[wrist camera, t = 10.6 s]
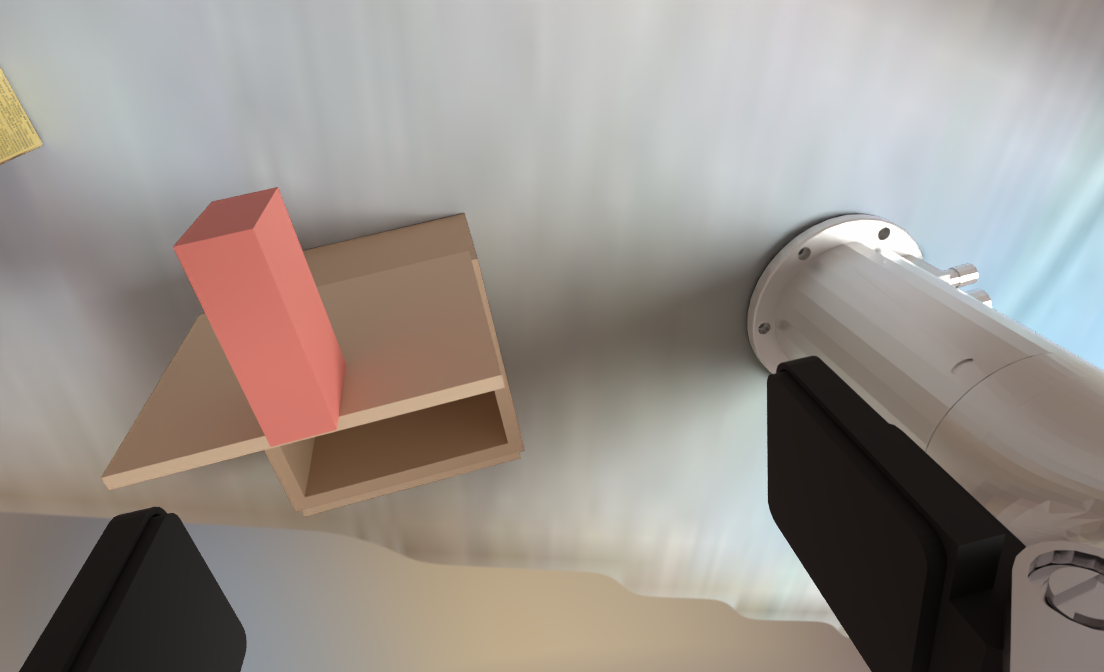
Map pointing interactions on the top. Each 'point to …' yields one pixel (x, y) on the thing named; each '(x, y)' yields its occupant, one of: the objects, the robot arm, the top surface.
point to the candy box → (14, 125)
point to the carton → (408, 439)
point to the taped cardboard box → (300, 346)
